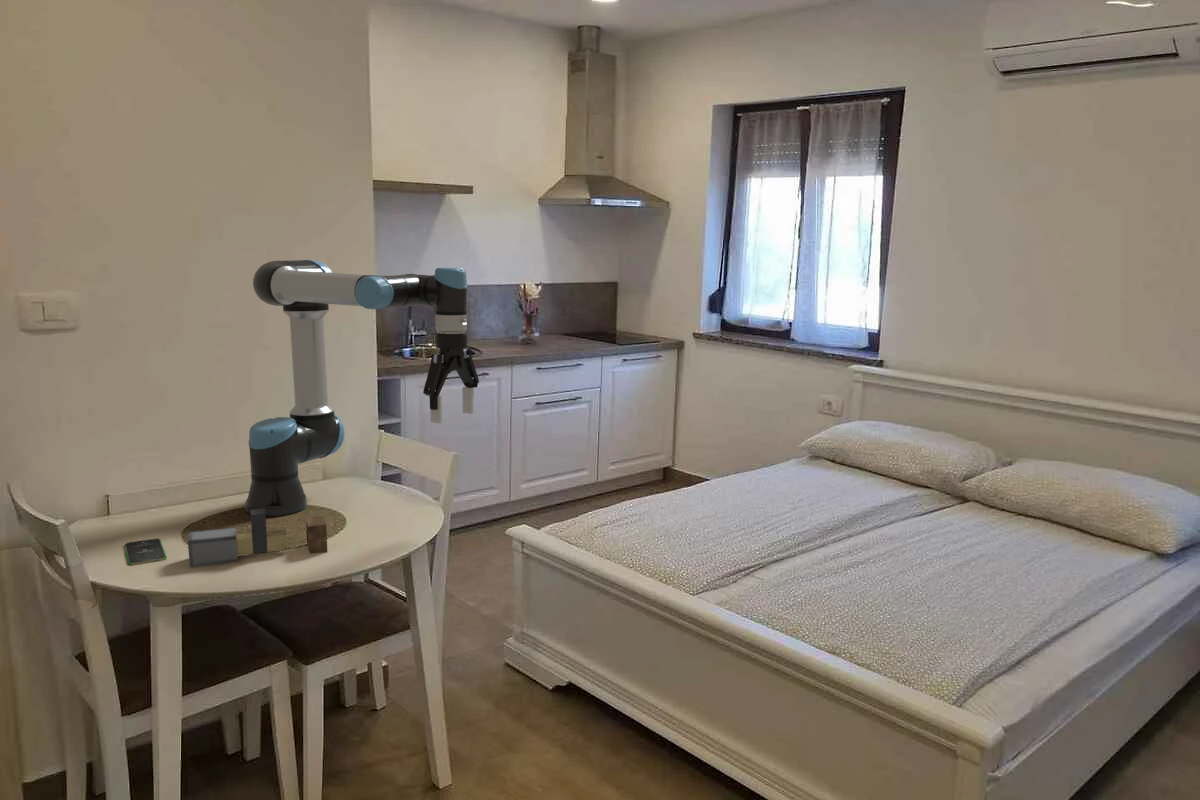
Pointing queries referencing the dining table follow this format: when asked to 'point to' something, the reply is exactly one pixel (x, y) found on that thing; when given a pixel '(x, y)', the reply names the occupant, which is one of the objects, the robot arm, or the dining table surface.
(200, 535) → the outer sleeve
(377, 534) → the dining table surface
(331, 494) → the dining table surface
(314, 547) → the socket block
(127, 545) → the black processor chip
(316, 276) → the robot arm
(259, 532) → the tan sliding insert
